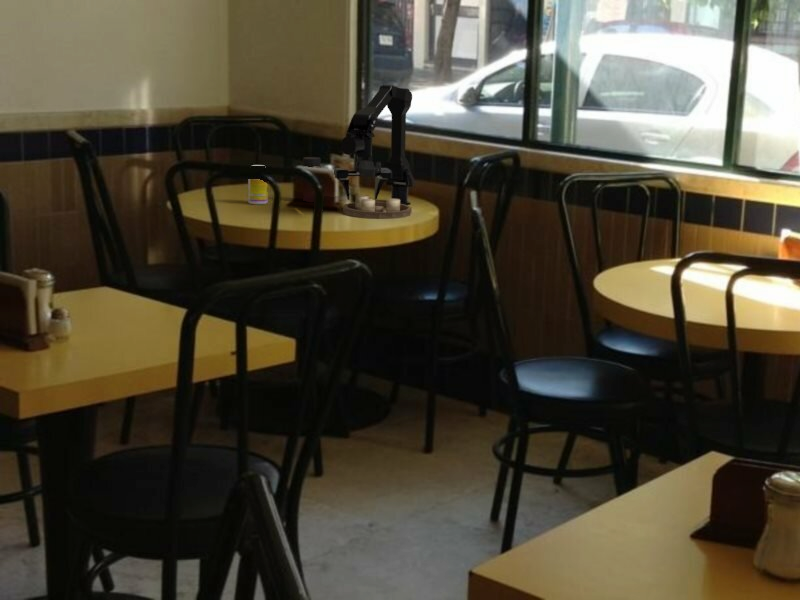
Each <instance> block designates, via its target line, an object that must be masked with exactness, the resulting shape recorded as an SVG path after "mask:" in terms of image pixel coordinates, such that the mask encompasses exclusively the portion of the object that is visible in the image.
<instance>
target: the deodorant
mask: <svg viewBox="0 0 800 600" xmlns="http://www.w3.org/2000/svg"><path fill="white" fill-rule="evenodd" d="M302 159H303V160H302V167H303V166H308V167H313V166H320V167H321V163H322V162H321V159H322V158H321V157H316V156H310V157H309V156H304V157H303V158H302Z"/></svg>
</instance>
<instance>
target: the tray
mask: <svg viewBox="0 0 800 600" xmlns="http://www.w3.org/2000/svg"><path fill="white" fill-rule="evenodd" d="M386 205H387V201H375V212H370V211H360V210H355V201H354V202H349V203H344V205H343V206H342V213H343V214H344V215H347V216H350V217H354V218H362V219H375V220H378V219H379V220H390V219H391V220H392V219H401V218H406V217H407V218H408V217H409V216H411V215H412V208H413V207H411V206H410V205H409V204H400V211H395V212H386Z"/></svg>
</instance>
